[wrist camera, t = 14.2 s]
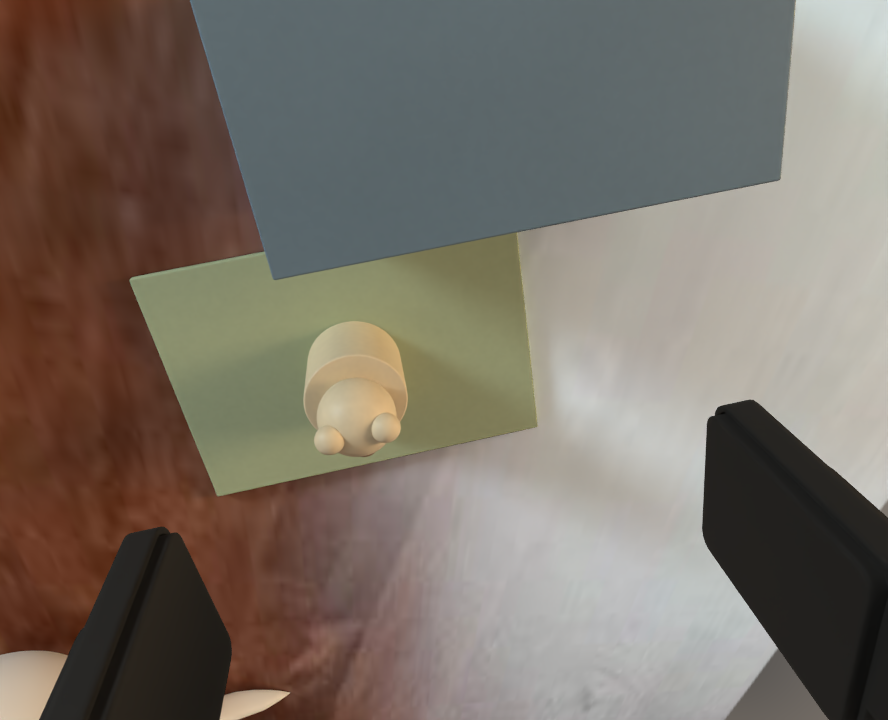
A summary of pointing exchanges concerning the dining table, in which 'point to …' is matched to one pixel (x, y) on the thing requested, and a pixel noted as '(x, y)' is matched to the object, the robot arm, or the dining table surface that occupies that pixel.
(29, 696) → the egg with bunny ears
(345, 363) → the bear
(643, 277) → the dining table surface
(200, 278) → the mat
